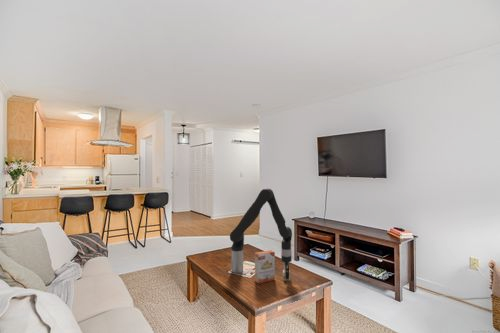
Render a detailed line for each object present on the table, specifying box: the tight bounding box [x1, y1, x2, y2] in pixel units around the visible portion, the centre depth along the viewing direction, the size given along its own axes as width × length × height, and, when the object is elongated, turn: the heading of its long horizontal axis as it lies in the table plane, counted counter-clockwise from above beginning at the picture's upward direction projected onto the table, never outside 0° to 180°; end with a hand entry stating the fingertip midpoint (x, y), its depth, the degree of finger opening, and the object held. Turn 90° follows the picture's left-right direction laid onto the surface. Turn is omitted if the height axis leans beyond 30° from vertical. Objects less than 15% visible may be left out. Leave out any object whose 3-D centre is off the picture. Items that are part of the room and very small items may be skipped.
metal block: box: [282, 269, 291, 282], centre depth 194 cm, size 5×5×6 cm
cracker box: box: [254, 249, 276, 284], centre depth 192 cm, size 14×6×21 cm, turn 117°
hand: (286, 276), depth 194 cm, fingers open, 8 cm apart
